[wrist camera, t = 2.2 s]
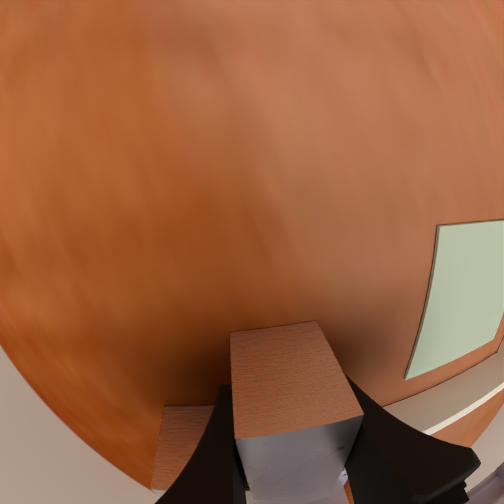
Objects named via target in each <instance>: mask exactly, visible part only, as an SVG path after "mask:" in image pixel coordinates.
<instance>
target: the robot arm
mask: <svg viewBox="0 0 504 504" xmlns="http://www.w3.org/2000/svg"><path fill="white" fill-rule="evenodd" d="M343 373H344V372H343ZM344 375H345V377H346V379H347V381H348V383H349V385H350V387H351V389H352V391H353V393H354V395H355V397H356V399H357V401H358V403H359V405H360V407H361V409H362V411H363V413H364V416H363V419H362V422H361V425H360V428H359V430H358V433H357V436H356V438H355V441H354V443H353V446H352V448H351V451H350V453H349V456H348V458H347V460H346V463H345V465H344V466H345V467H344V468H343V469H342V472H341V474H340V476H339V478H338V480H337V482H336V484H335V486H334V488H333V490H332V492H331V494H330V496H329V498H325V499H321V500H317V501H312V502H308V503H303V504H349V502H348V499H347V496H346V493H345V490H344V487H343V486H344V485H345V483H346V481H347V479H348V480H349V483H350V487H351V491H352V496H353V500H354V504H504V462H503V463H502V464H501V465H500V466H499V467H498V468H497V469H496V470H495V471H494V472H493V473H492V474H490V475H489V476H488V477H487V478H485V479H484V480H483V481H482V482H480V483H479V484H478V485H476V486H475V487H474V488H472V489H471V490H470V491H468V492H467V493H466V492H465V490H464V488H465V487H466V483H465V482H464V480H465V479H466V478H467V477H469V476H470V475H471V474H472V473H473V472H474V471H475V470H476V469H477V468H478V467H479V466H480V464H481V462H480V460H479V459H478V457H477V455H476V454H475V452H474V451H473V450H472V449H471V448H468V447H464V446H459V445H455V444H451V443H448V442H445V441H442V440H439V439H436V438H434V437H432V436H430V435H427V434H425V433H423V432H421V431H418V430H417V429H415V428H413V427H411V426H409V425H407V424H406V423H404V422H402V421H401V420H399V419H398V418H396V417H395V416H393V415H392V414H390V413H389V412H388V411H386V410H385V409H384V408H382V407H381V406H380V405H378V404H377V403H376V402H375V401H374V400H372V399H371V398H370V397H369V396H368V395H367V394H365V393H364V392H363V391H362V390H361V389H360V388H359V387H358V386H357V385H356V384H355V383H354V382H353V381H352V380H351V379H350V378H349V377H348V376H347V375H346V374H345V373H344ZM155 504H247V501H246V493H245V483H244V468H243V465H242V462H241V458H240V455H239V451H238V448H237V445H236V441H235V433H234V416H233V397H232V384H227V385H220V386H219V388H218V393H217V397H216V401H215V404H214V407H213V410H212V413H211V416H210V418H209V421H208V423H207V426H206V428H205V431H204V433H203V435H202V437H201V439H200V441H199V443H198V445H197V447H196V449H195V451H194V453H193V454H192V456H191V458H190V459H189V461H188V463H187V464H186V466H185V467H184V469H183V470H182V471H181V473H180V474H179V476H178V477H177V479H176V480H175V481H174V482H173V484H172V485H171V486H170V487H169V488H168V490H167V491H166V492H165V493H164V494H163V495H162V496H161V497H160V499H159V500H158V501H157V502H156V503H155Z"/></svg>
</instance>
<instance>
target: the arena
mask: <svg viewBox="0 0 504 504" xmlns="http://www.w3.org/2000/svg"><path fill="white" fill-rule="evenodd" d="M503 388H504V337H503V340H502V342H501V344H500V347H499V349H498V351H497V353H495V354H494V355H492V356H490V357H489V358H487V359H486V360H484V361H482V362H481V363H479V364H477V365H475V366H474V367H472V368H470V369H468V370H466V371H465V372H463V373H461V374H459V375H457V376H455V377H453V378H451V379H449V380H447V381H445V382H443V383H441V384H439V385H437V386H435V387H432V388H430V389H428V390H426V391H423V392H421V393H419V394H416V395H414V396H412V397H409V398H407V399H404V400H401V401H399V402H396V403H393V404H391V405H388V406H385V407H382V408H384V409H385V410H386V411H388V412H389V413H390V414H392V415H393V416H395V417H396V418H398V419H399V420H401V421H402V422H404V423H406V424H407V425H409V426H411V427H413V428H415V429H417V430H418V431H421V432H423V433H425V434H427V435H431V434H433V433H435V432H437V431H438V430H440V429H442V428H444V427H446V426H447V425H449V424H451V423H453V422H454V421H456V420H458V419H459V418H461V417H463V416H464V415H466V414H468V413H469V412H471V411H472V410H474V409H475V408H477V407H478V406H480V405H481V404H483V403H484V402H485V401H487V400H488V399H490V398H491V397H492V396H494V395H495V394H496V393H498V392H499V391H500V390H502V389H503Z"/></svg>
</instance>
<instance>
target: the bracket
mask: <svg viewBox="0 0 504 504" xmlns="http://www.w3.org/2000/svg"><path fill="white" fill-rule="evenodd" d="M230 353H231V376H232V397H233V416H234V433H235V441H236V445H237V448H238V451H239V455H240V458H241V462H242V465H243V468H244V483H245V493H246V501H247V504H303V503H308V502H312V501H317V500H321V499H325V498H329V496H330V494H331V492H332V490H333V488H334V486H335V484H336V482H337V480H338V478H339V476H340V474H341V472H342V469H343V467H344V465H345V463H346V460H347V458H348V456H349V453H350V451H351V448H352V446H353V443H354V441H355V438H356V436H357V433H358V430H359V428H360V425H361V422H362V419H363V416H364V413H363V411H362V409H361V407H360V405H359V403H358V401H357V399H356V397H355V395H354V393H353V391H352V389H351V387H350V385H349V383H348V381H347V379H346V377H345V375H344V373H343V371H342V369H341V367H340V365H339V363H338V361H337V359H336V357H335V355H334V353H333V351H332V349H331V348H330V346H329V344H328V342H327V340H326V338H325V336H324V334H323V332H322V330H321V328H320V326H319V325H318V323H317V321H311V322H305V323H299V324H292V325H285V326H278V327H271V328H263V329H255V330H247V331H238V332H230ZM213 407H214V405H207V406H164V409H163V415H162V420H161V426H160V432H159V438H158V444H157V450H156V456H155V463H154V470H153V477H152V485H151V490H152V491H154V492H155V493H156V494H157V495H158V496H159V497H161V496H162V495H163V494H164V493H165V492H166V491H167V490H168V488H169V487H170V486H171V485H172V484H173V482H174V481H175V480H176V479H177V477H178V476H179V474H180V473H181V471H182V470H183V469H184V467H185V466H186V464H187V463H188V461H189V459H190V458H191V456H192V454H193V453H194V451H195V449H196V447H197V445H198V443H199V441H200V439H201V437H202V435H203V433H204V431H205V428H206V426H207V423H208V421H209V418H210V416H211V413H212V410H213Z"/></svg>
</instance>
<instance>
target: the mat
mask: <svg viewBox="0 0 504 504" xmlns="http://www.w3.org/2000/svg"><path fill="white" fill-rule="evenodd" d="M503 312H504V220H493V221H482V222H470V223H459V224H448V225H438V226H437V233H436V242H435V250H434V258H433V265H432V271H431V277H430V282H429V288H428V293H427V298H426V302H425V307H424V311H423V315H422V320H421V324H420V327H419V331H418V335H417V338H416V342H415V345H414V349H413V352H412V355H411V358H410V361H409V364H408V367H407V370H406V373H405V376H404V379H405V380H408V379H410V378H413V377H416V376H418V375H421V374H423V373H426V372H428V371H430V370H433V369H435V368H437V367H440V366H442V365H444V364H446V363H449V362H451V361H453V360H455V359H457V358H459V357H461V356H463V355H465V354H467V353H469V352H471V351H473V350H475V349H477V348H478V347H480V346H482V345H484V344H486V343H488V342H489V341H491V340H493V339H494V337H495V334H496V332H497V329H498V326H499V324H500V321H501V318H502V315H503Z"/></svg>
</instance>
